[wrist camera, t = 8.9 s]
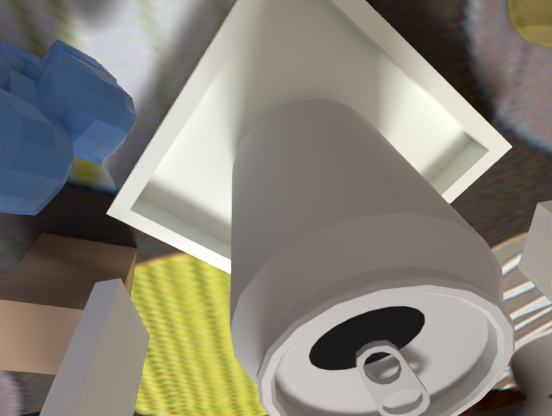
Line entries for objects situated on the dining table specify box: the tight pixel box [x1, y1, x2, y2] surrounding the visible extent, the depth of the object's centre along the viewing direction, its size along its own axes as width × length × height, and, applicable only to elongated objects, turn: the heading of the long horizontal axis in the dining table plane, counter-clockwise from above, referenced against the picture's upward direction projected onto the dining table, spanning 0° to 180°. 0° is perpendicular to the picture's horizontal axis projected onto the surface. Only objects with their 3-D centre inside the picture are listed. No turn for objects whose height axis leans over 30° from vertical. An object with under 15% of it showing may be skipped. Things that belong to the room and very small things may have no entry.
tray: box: [106, 0, 512, 274], centre depth 18 cm, size 14×14×2 cm
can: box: [230, 99, 515, 416], centre depth 14 cm, size 8×8×12 cm
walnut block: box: [0, 233, 137, 375], centre depth 20 cm, size 5×5×5 cm
